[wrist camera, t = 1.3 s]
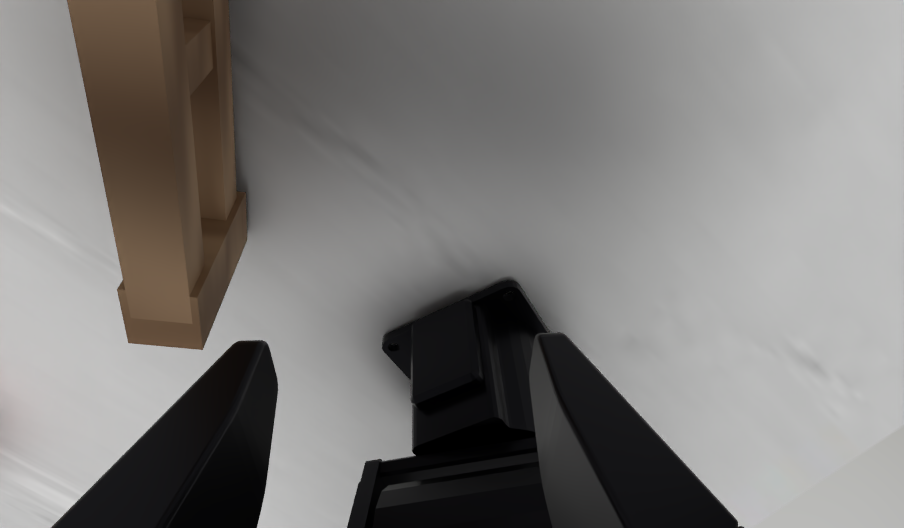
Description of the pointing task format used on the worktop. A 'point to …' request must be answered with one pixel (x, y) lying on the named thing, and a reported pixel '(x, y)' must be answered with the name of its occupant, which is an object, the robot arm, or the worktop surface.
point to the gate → (165, 157)
